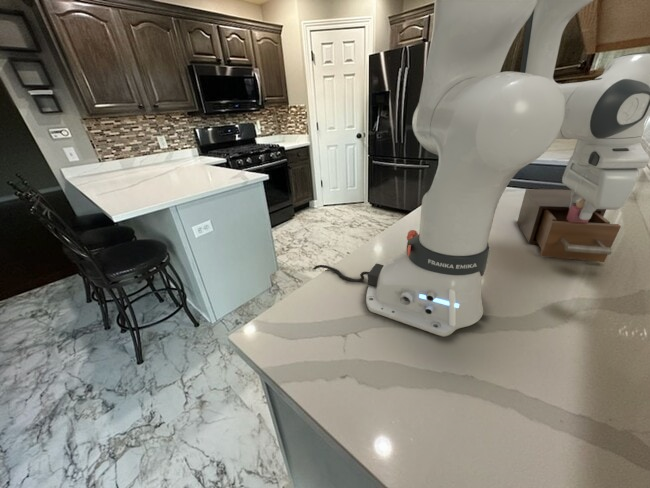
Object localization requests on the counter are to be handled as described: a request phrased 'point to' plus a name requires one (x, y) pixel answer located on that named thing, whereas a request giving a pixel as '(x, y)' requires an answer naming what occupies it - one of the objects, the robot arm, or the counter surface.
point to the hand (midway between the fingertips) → (578, 214)
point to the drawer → (575, 236)
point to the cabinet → (537, 202)
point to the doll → (576, 212)
